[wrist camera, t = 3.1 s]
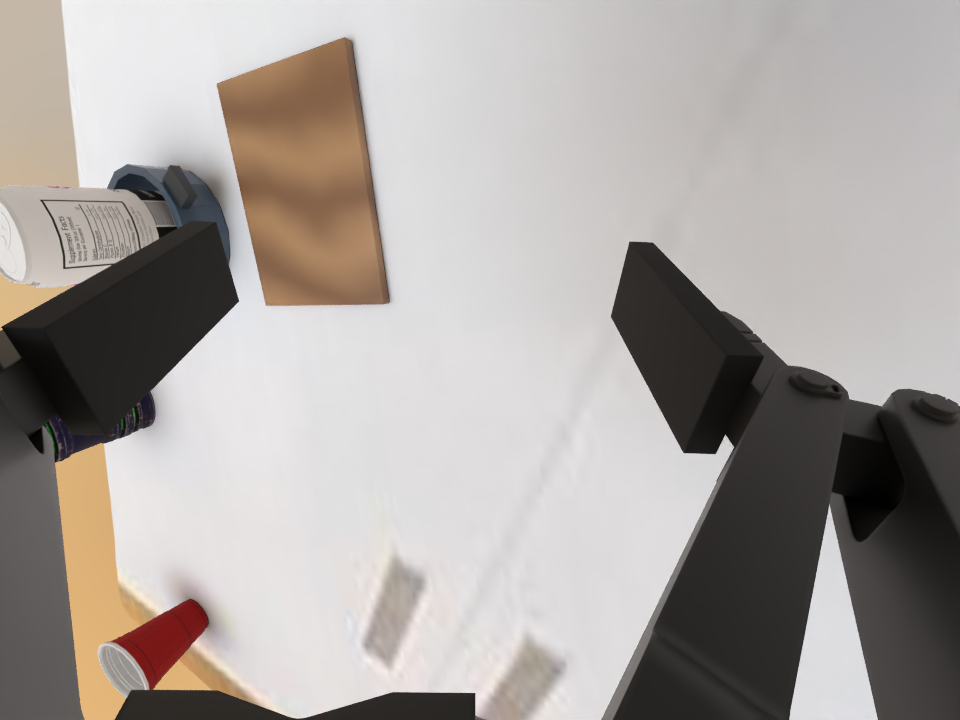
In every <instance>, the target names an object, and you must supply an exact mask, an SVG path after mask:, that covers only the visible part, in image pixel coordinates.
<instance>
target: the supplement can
mask: <svg viewBox="0 0 960 720" xmlns="http://www.w3.org/2000/svg"><path fill="white" fill-rule="evenodd" d="M176 229H177V225H176V222H175V219H174V216H173V213H172V210H171V208H170V207H169V205H168V204H167V202H166V200H165V199H164V197H163V196H162V194H161V192H160V191H146V190H123V189H100V188H76V187H53V186H52V187H51V186H31V185H7V186H3V187H0V273H1V274H2V275H3V276H4V277H5V278H7V279H8V280H9V281H11V282H12V283H23V284H27V285H31V286H35V287H39V288H51V287H60V286H69V285H77V284H79V283H81V282H83V281H84V280H86V279H88V278H90V277H92V276H93V275H95V274H97V273H99V272H100V271H102V270H104V269H106V268H108V267H109V266H111V265H113V264H115V263H117V262H118V261H120V260H122V259H124V258H126V257H127V256H129V255H131V254H133V253H134V252H136V251H138V250H140V249H142V248H143V247H145V246H147V245H149V244H151V243H152V242H154V241H156V240H158V239H160V238H161V237H163V236H165V235H167V234H168V233H170V232H172V231H174V230H176Z"/></svg>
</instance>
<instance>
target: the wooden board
mask: <svg viewBox="0 0 960 720" xmlns="http://www.w3.org/2000/svg"><path fill="white" fill-rule="evenodd" d="M217 88H218V92H219V97H220V101H221V106H222V110H223V115H224V119H225V124H226V128H227V133H228V137H229V142H230V146H231V151H232V155H233V160H234V164H235V169H236V173H237V178H238V182H239V187H240V191H241V196H242V200H243V205H244V209H245V214H246V218H247V222H248V227H249V231H250V236H251V240H252V245H253V249H254V254H255V258H256V263H257V267H258V272H259V276H260V281H261V285H262V290H263V294H264V299H265V303H266V306H286V305H361V304H386V303H389V298H388V291H387V284H386V277H385V270H384V263H383V256H382V249H381V242H380V235H379V228H378V222H377V215H376V208H375V201H374V194H373V187H372V180H371V173H370V166H369V159H368V152H367V145H366V138H365V131H364V125H363V118H362V111H361V104H360V97H359V90H358V83H357V76H356V69H355V62H354V55H353V48H352V42H351V40H349V39H347V38H345V37H344V38H341V39H339V40H336V41H333V42H330V43H328V44H325V45H322V46H319V47H317V48H314V49H311V50H308V51H306V52H303V53H300V54H297V55H295V56H292V57H289V58H286V59H283V60H281V61H278V62H275V63H272V64H270V65H267V66H264V67H261V68H259V69H256V70H253V71H250V72H248V73H245V74H242V75H239V76H237V77H234V78H231V79H228V80H226V81H223V82H220V83H217Z"/></svg>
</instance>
